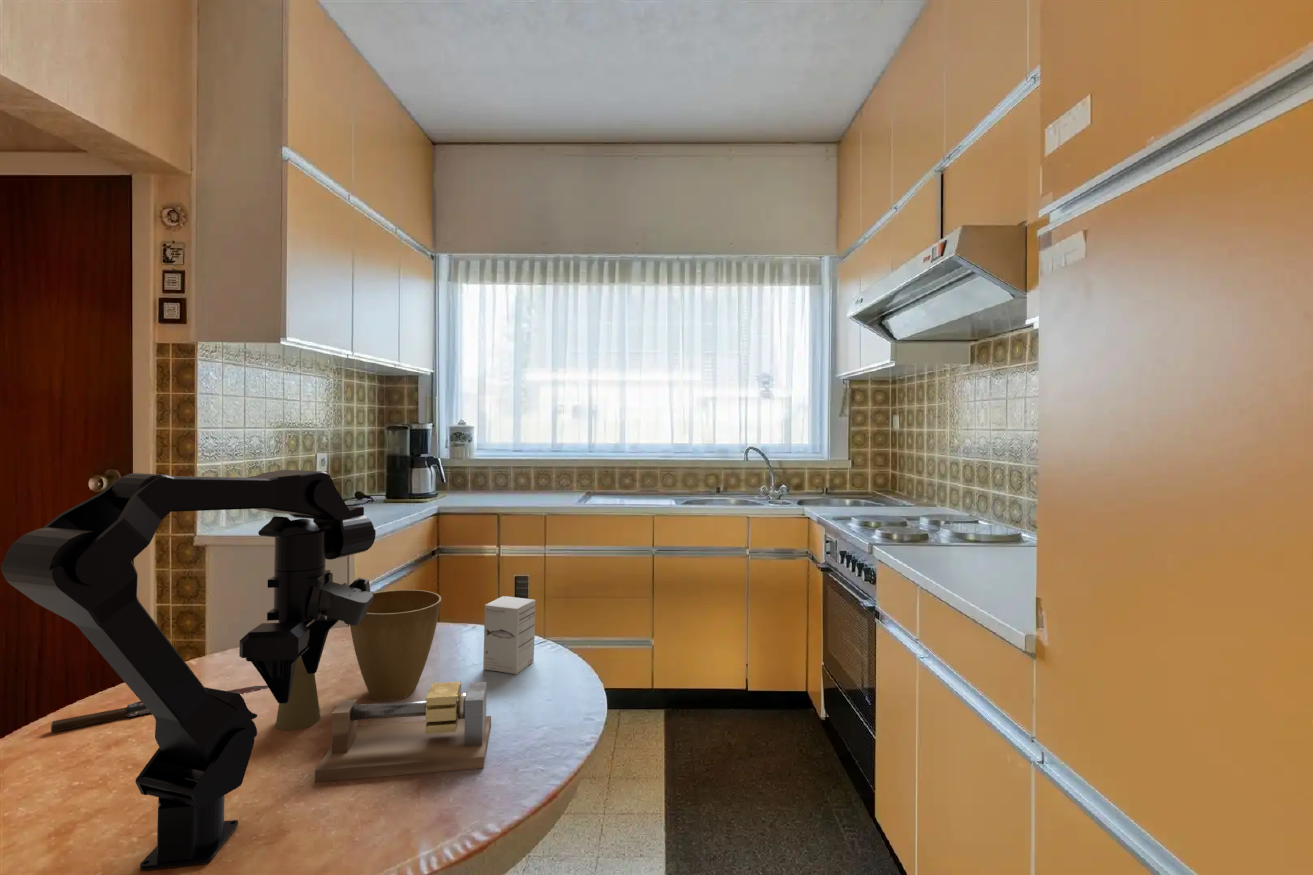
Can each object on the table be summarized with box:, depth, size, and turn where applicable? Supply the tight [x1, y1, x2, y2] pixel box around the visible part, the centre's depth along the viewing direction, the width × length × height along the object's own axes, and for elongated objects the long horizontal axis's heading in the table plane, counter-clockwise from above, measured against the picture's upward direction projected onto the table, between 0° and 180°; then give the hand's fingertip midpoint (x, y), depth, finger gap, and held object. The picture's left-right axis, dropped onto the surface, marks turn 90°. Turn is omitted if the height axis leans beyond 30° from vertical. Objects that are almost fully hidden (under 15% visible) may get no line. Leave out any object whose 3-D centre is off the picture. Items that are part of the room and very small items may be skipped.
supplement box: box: [482, 595, 537, 675], centre depth 117 cm, size 7×7×13 cm
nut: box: [425, 681, 462, 734], centre depth 86 cm, size 5×4×5 cm
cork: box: [275, 656, 321, 731], centre depth 93 cm, size 6×6×11 cm
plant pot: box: [349, 589, 442, 701], centre depth 105 cm, size 15×15×16 cm
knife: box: [50, 685, 269, 733], centre depth 98 cm, size 3×2×30 cm
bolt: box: [350, 681, 488, 747], centre depth 85 cm, size 6×19×6 cm, turn 101°
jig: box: [314, 699, 492, 783], centre depth 85 cm, size 12×21×7 cm, turn 101°
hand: (298, 686), depth 78 cm, fingers open, 9 cm apart
